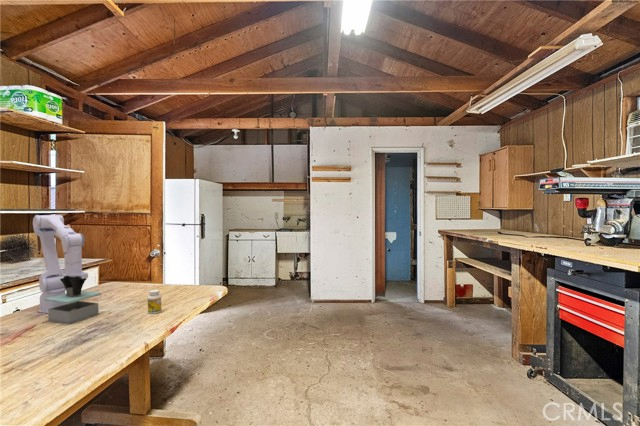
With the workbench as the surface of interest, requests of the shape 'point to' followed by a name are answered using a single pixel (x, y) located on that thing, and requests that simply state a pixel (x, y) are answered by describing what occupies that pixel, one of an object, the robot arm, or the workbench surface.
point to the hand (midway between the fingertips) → (73, 294)
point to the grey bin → (73, 312)
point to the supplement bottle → (154, 302)
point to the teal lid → (72, 296)
